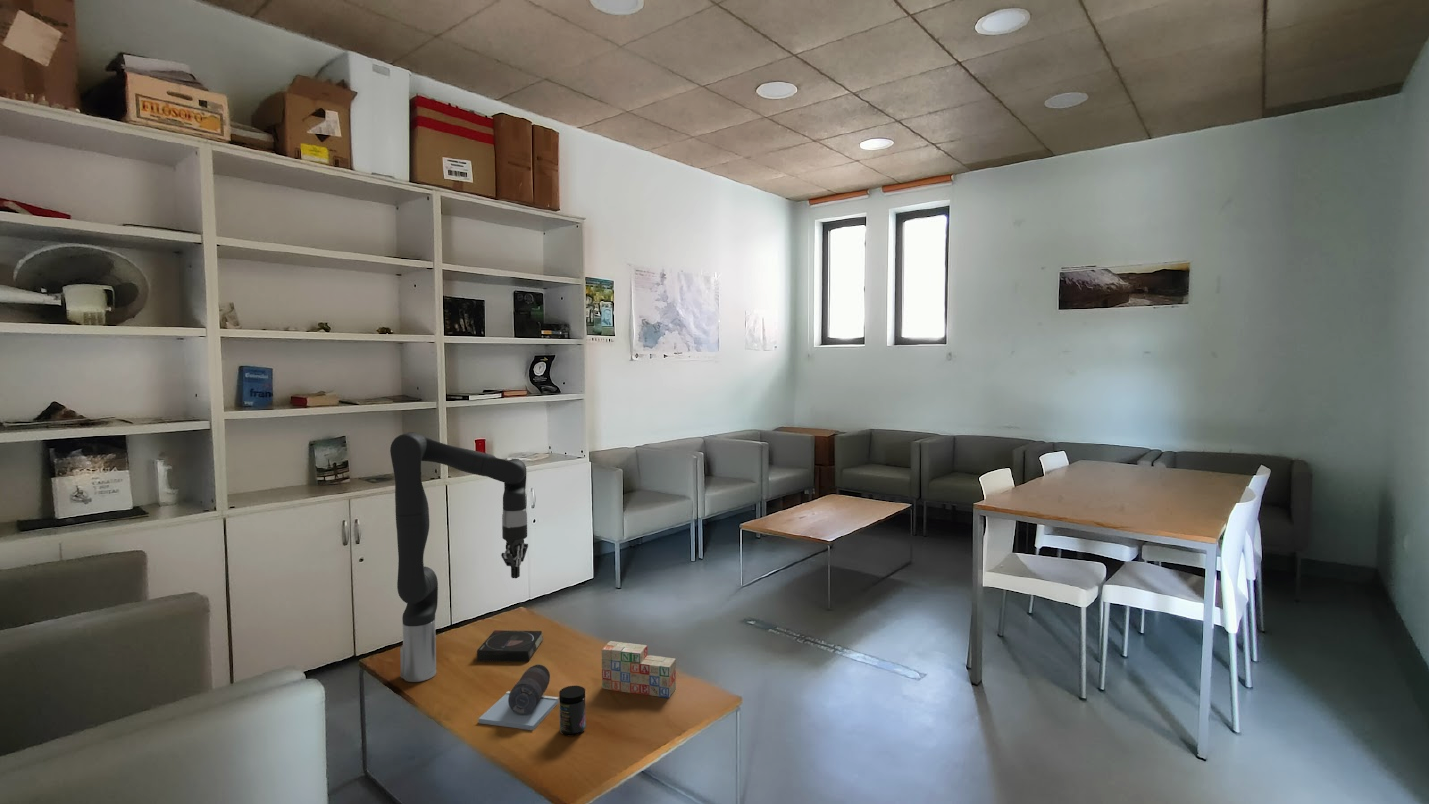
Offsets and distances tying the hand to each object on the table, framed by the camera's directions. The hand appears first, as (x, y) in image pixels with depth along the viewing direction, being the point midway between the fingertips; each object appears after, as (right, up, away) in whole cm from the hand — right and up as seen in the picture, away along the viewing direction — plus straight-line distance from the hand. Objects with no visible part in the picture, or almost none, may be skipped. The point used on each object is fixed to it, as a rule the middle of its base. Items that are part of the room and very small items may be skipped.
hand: (515, 577), depth 211 cm
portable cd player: (-5, -29, +14) cm, 33 cm away
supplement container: (+25, -31, -35) cm, 53 cm away
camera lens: (+12, -25, -15) cm, 31 cm away
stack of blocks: (+40, -30, -12) cm, 52 cm away
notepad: (+9, -31, -26) cm, 41 cm away
